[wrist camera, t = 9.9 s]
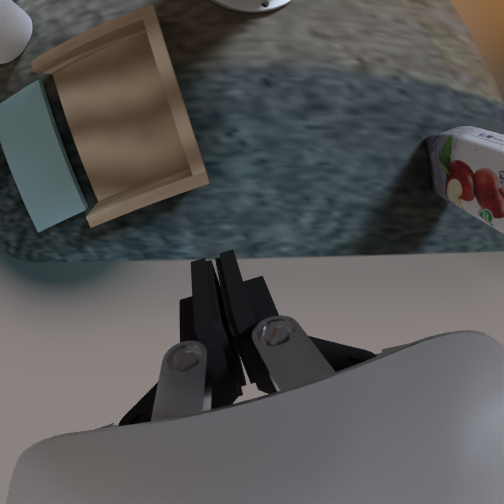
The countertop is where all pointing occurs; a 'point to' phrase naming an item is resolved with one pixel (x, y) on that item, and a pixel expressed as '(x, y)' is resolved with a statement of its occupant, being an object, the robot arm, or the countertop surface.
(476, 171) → the juice carton
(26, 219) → the countertop surface
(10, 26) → the cup
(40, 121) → the panel
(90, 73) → the crate
